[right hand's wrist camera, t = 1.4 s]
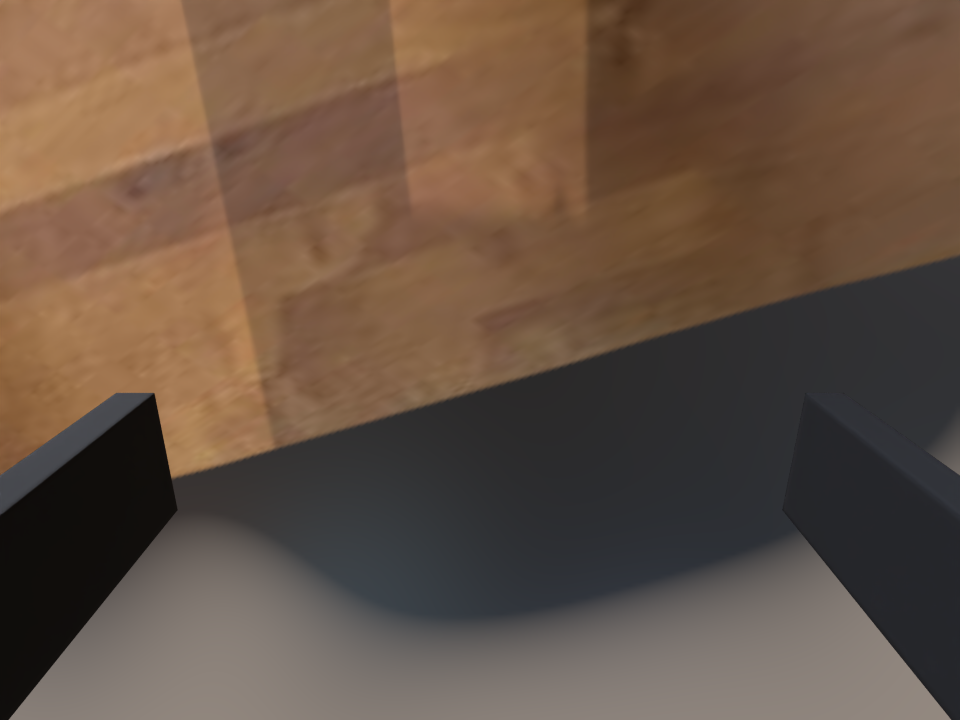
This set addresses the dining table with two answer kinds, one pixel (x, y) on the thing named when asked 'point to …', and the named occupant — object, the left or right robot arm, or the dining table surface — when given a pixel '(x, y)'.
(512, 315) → the dining table surface
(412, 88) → the dining table surface
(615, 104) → the dining table surface
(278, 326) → the dining table surface
